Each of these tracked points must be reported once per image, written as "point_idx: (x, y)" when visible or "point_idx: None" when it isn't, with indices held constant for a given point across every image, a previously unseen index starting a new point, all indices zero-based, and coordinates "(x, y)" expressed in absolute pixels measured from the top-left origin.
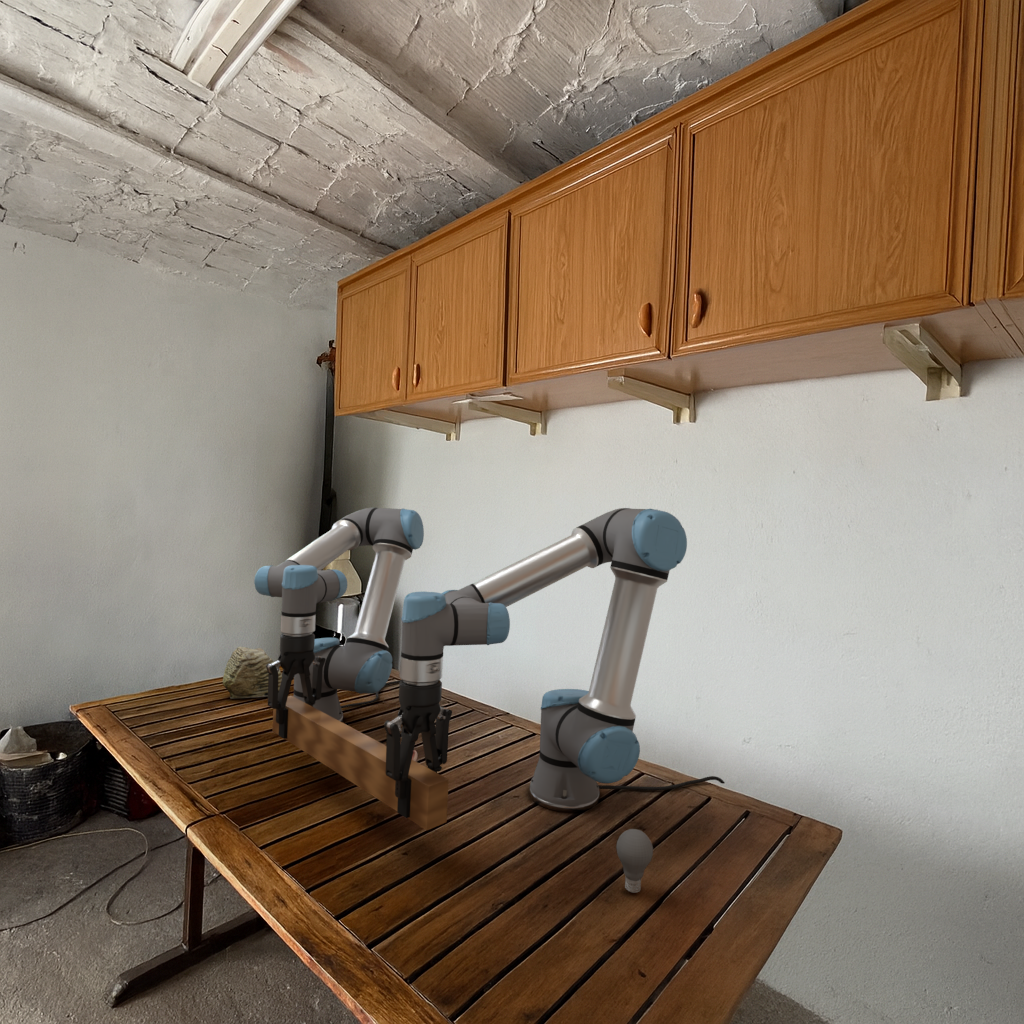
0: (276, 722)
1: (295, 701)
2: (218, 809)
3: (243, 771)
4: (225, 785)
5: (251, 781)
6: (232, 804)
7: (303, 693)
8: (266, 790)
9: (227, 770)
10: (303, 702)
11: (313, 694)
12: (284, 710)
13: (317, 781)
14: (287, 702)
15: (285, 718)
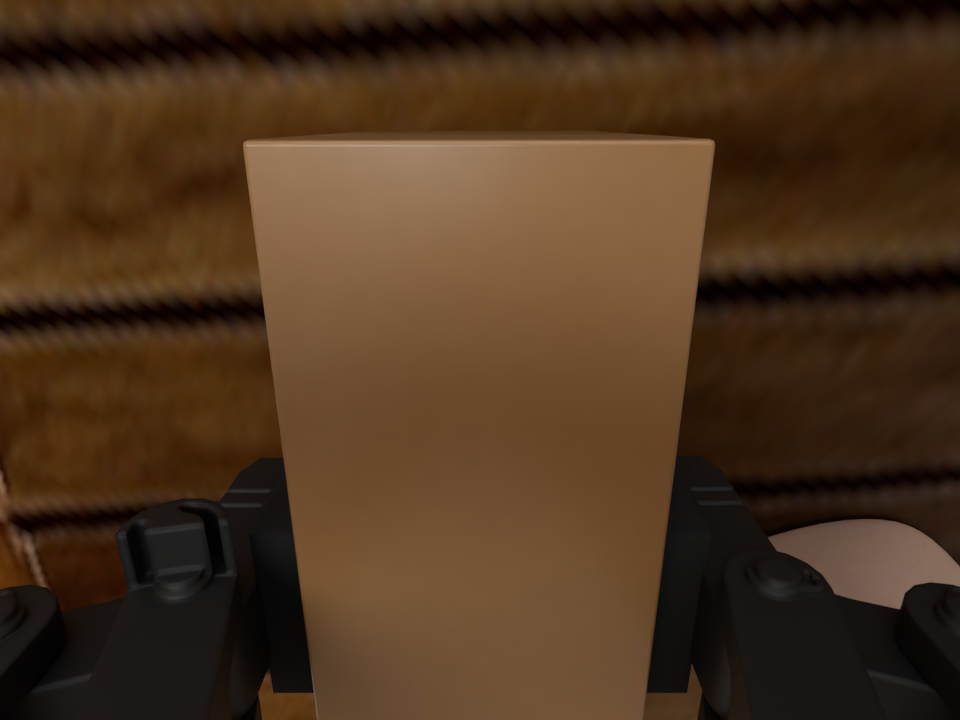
0: (259, 463)
1: (554, 552)
2: (6, 485)
3: (220, 111)
4: (76, 247)
5: (225, 292)
6: (75, 478)
7: (743, 708)
8: (264, 444)
9: (126, 14)
10: (631, 668)
11: (921, 715)
12: (273, 669)
13: None
14: (404, 527)
15: None
